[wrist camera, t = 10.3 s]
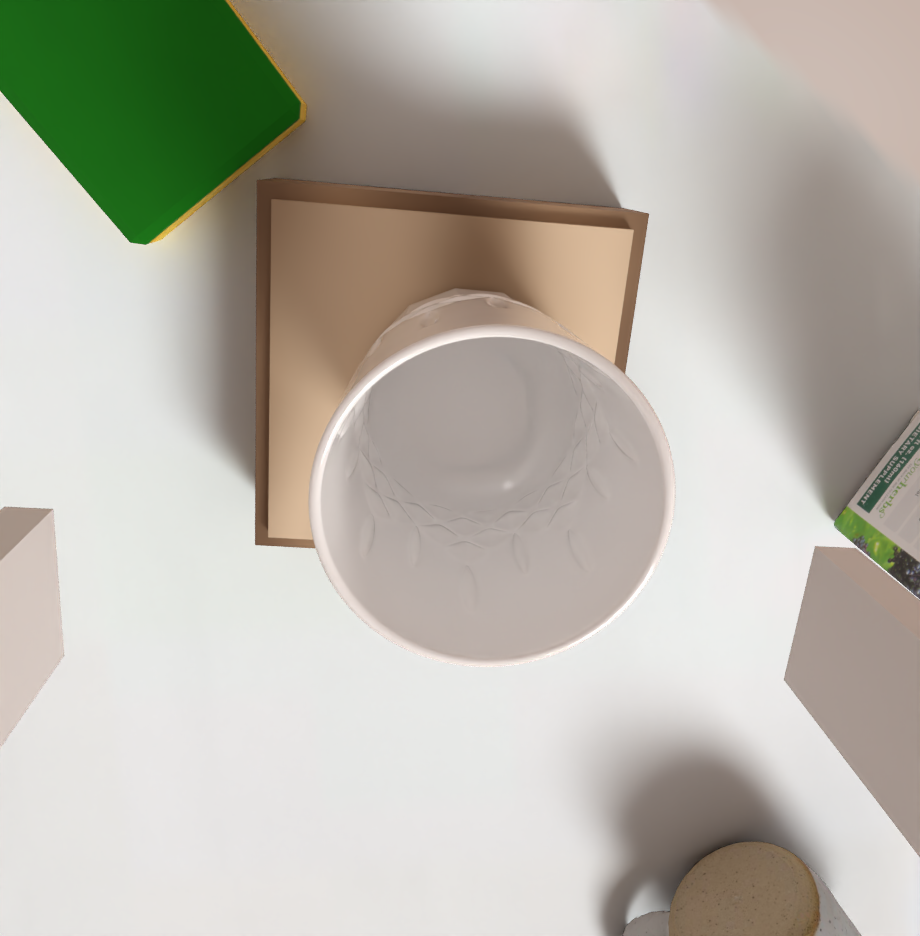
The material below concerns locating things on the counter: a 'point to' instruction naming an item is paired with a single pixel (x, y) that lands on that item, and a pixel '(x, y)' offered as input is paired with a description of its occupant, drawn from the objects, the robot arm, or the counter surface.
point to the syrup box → (890, 511)
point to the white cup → (489, 484)
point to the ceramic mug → (748, 898)
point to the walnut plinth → (405, 298)
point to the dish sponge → (145, 100)
